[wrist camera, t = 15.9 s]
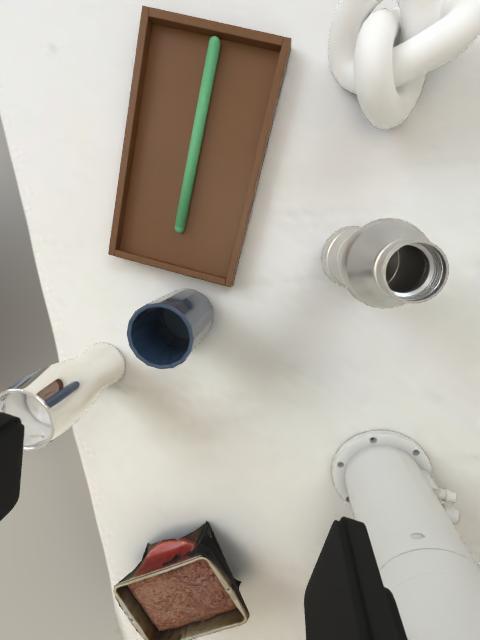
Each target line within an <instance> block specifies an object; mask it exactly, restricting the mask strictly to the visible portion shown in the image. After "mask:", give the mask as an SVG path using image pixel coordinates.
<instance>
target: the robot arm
mask: <svg viewBox="0 0 480 640" xmlns="http://www.w3.org/2000/svg"><path fill="white" fill-rule="evenodd" d="M24 430H25V427H24V425H23V424H22V423H21V419H20V418H19V417H16V416H13V415H10V414H6V413H3V412H0V521H1V520H2V519H3V518H4V517H5V516H6V515H7V514H8V513H9V512H10V511H11V510H12V508H13V507H14V506H15V504H16V503H17V501H18V498H19V492H20V478H21V467H22V455H23V443H24ZM331 473H332V480H333V484H334V487H335V489H336V492H337V493H338V495H339V496H340V498H341V499H342V500H343V501H344V502H345V503H346V504H348V505H349V506H350V507H352V511H353V514H354V518H355V520H353V519H350V518H347V517H342V518H341V519H340V521H337V520H335V521H334V522H333V524H332V526H331V529H330V531H329V534H328V536H327V539H326V541H325V543H324V546H323V548H322V551H321V553H320V556H319V558H318V561H317V563H316V565H315V568H314V570H313V573H312V575H311V578H310V580H309V583H308V585H307V588H306V591H305V598H304V609H305V625H306V640H480V567H479V566H478V564H477V562H476V561H475V559H474V557H473V556H472V554H471V552H470V551H469V549H468V547H467V546H466V544H465V543H464V541H463V539H462V538H461V536H460V534H459V533H458V531H457V529H456V528H455V526H454V525H455V524H458V522H459V519H460V516H459V512H458V510H457V509H456V508H454V507H451V506H448V505H444V504H441V503H440V501H439V500H438V498H439V499H442V500H443V501H447V502H450V503H455V502H456V500H457V495H456V493H455V492H454V491H451V490H447V489H442V488H439V487H438V486H437V485H436V484H435V482H434V481H433V479H432V467H431V464H430V461H429V459H428V457H427V455H426V454H425V452H424V451H423V450H422V448H421V447H420V446H419V445H418V444H417V443H416V442H414V441H413V440H412V439H410V438H409V437H406V436H404V435H402V434H400V433H396V432H393V431H385V430H377V431H369V432H364V433H361V434H359V435H356V436H354V437H353V438H351V439H349V440H348V441H347V442H345V443H344V444H343V445H342V446H341V447H340V449H339V450H338V451H337V453H336V455H335V457H334V459H333V462H332V467H331Z"/></svg>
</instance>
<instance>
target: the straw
mask: <svg viewBox="0 0 480 640" xmlns="http://www.w3.org/2000/svg"><path fill="white" fill-rule="evenodd" d="M220 45H221V43H220V40H219V38H218V37H216V36H213V37H211V38H210V40H209V44H208V50H207V55H206V61H205V66H204V71H203V77H202V82H201V87H200V93H199V98H198V104H197V109H196V114H195V120H194V125H193V130H192V136H191V141H190V146H189V152H188V157H187V163H186V168H185V173H184V179H183V184H182V189H181V195H180V200H179V206H178V211H177V216H176V222H175V231H176V232H178V233H182V232H183V231H184V230H185V225H186V220H187V215H188V210H189V205H190V199H191V194H192V189H193V184H194V179H195V174H196V169H197V163H198V158H199V153H200V148H201V143H202V138H203V133H204V128H205V122H206V117H207V112H208V107H209V102H210V97H211V92H212V86H213V81H214V76H215V71H216V66H217V61H218V56H219V50H220Z"/></svg>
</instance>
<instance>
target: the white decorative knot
mask: <svg viewBox="0 0 480 640" xmlns="http://www.w3.org/2000/svg"><path fill="white" fill-rule="evenodd" d="M381 1H383V0H339V2H338V5H337V8H336V10H335V13H334V15H333V19H332V23H331V27H330V31H329V39H328V58H329V63H330V68H331V70H332V73H333V76H334V77H335V79H336V81H337V82H338V83H339V84H340V85H341V86H342V87H343V88H345V89H346V90H348V91H350V92H352V93H355V94H357V98H358V101H359V104H360V107H361V109H362V111H363V113H364V115H365V116H366V118H367V119H368V120H369V122H370V123H371V124H372V125H373V126H375V127H377V128H382V129H390V128H392V127H395V126H397V125H400V124H401V123H402V122H403V121H404V120H405V119H406V118H407V117H408V115H409V114H410V113H411V111H412V110H413V108H414V106H415V105H416V102H417V100H418V98H419V96H420V93H421V90H422V87H423V84H424V81H425V77H426V73H428V72H429V71H432V70H434V69H436V68H438V67H440V66H442V65H444V64H446V63H447V62H449V61H451V60H452V59H454V58H455V57H457V56H458V55H459V54H461V53H462V52H463V51H464V50H466V49H467V48H468V47H469V46H470V45H471V43H472V42H473V41H474V40H475V39H476V38H477V37H478V35H479V34H480V0H397V2H398V5H399V7H396V8H391V9H386V8H384V9H381V10H378V11H375V12H373V13H372V14H371V12H372V11H373V10H374V8H375V7H376V6H377V5H378V4H379V3H380V2H381ZM370 14H371V15H370ZM369 15H370V16H369Z"/></svg>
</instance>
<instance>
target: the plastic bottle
mask: <svg viewBox="0 0 480 640" xmlns="http://www.w3.org/2000/svg"><path fill="white" fill-rule="evenodd" d="M321 258H322V266H323V269H324V271H325V273H326V275H327V276H328V277H329V279H330V280H332V281H333V282H334V283H336V284H337V285H339V286H342V287H346V288H347V289H348V290H349V291H350V293H351V294H352V295H353V296H354V297H355V298H356V299H358V300H359V301H360V302H362V303H364V304H366V305H368V306H372V307H375V308H383V309H384V308H394V307H398V306H401V305H404V304H407V303H421V302H425V301H427V300H430V299H432V298H433V297H435V296H436V295H437V294H438V293H439V292H440V291H441V290H442V289H443V287H444V286H445V284H446V281H447V279H448V275H449V264H448V260H447V258H446V255H445V254H444V252H443V251H442V250H441V249H440V248H439V247H438V246H437V245H435V244H433V243H431V242H430V241H429V240H428V238H427V237H426V236H425V234H424V233H423V232H421V231H420V230H419V229H418V228H417V227H416V226H414V225H412V224H411V223H409V222H407V221H403V220H400V219H393V218H386V219H379V220H376V221H372V222H370V223H368V224H366V225H364V226H363V227H358V226H349V227H345V228H341V229H340V230H338V231H336V232H335V233H333V234H332V235H331V236H330V237H329V238H328V240H327V241H326V243H325V245H324V247H323V251H322V257H321Z"/></svg>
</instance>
